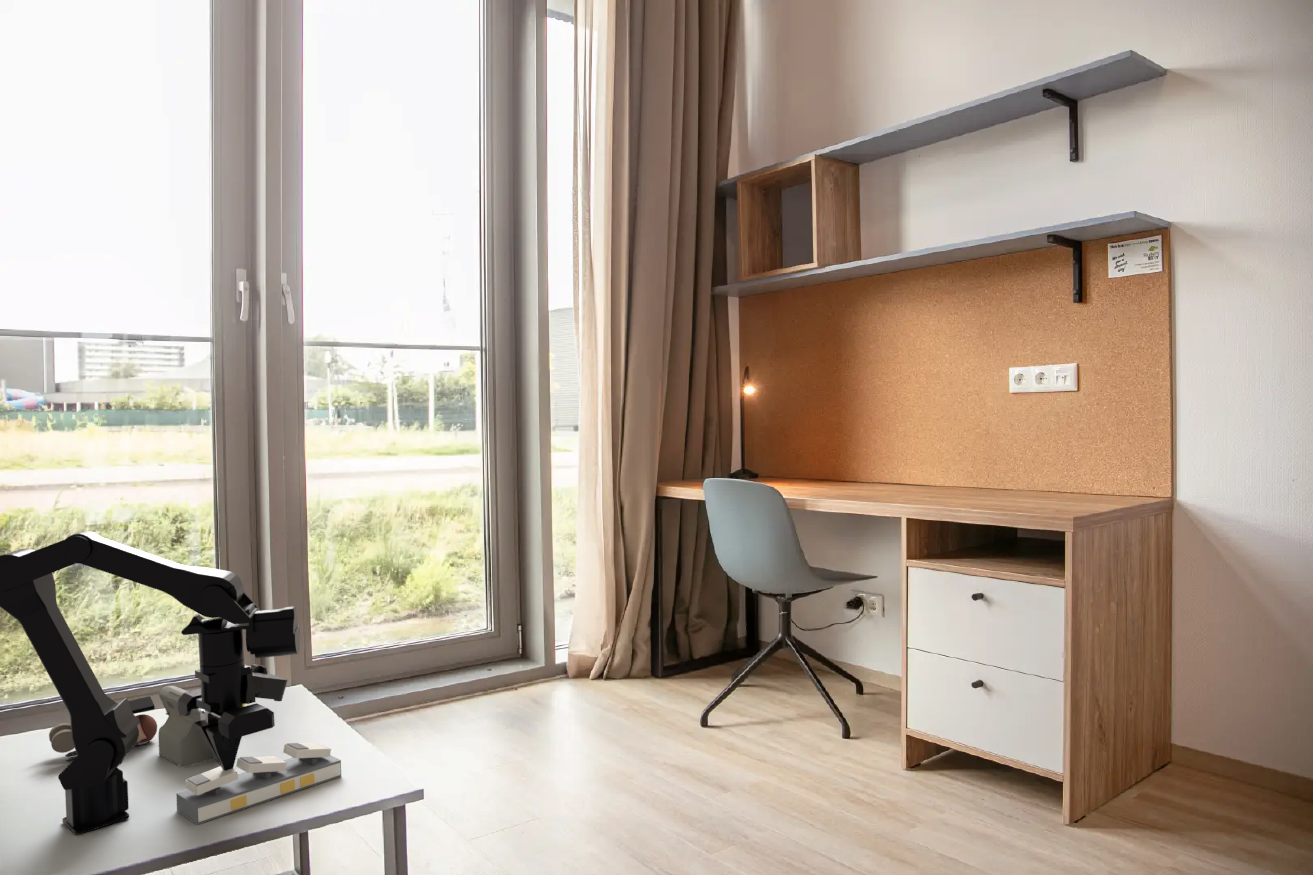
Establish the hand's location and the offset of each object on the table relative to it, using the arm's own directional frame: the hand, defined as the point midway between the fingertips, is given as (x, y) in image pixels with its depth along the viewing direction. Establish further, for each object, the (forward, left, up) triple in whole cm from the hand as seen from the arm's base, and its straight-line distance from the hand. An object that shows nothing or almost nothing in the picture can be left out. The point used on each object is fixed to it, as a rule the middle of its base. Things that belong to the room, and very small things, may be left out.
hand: (228, 769), depth 129 cm
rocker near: (-2, 0, -1) cm, 2 cm away
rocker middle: (+5, 0, -1) cm, 5 cm away
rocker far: (+12, 0, -1) cm, 12 cm away
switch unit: (+5, 0, -5) cm, 7 cm away
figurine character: (-4, +39, -5) cm, 40 cm away
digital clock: (+5, +25, -5) cm, 26 cm away
